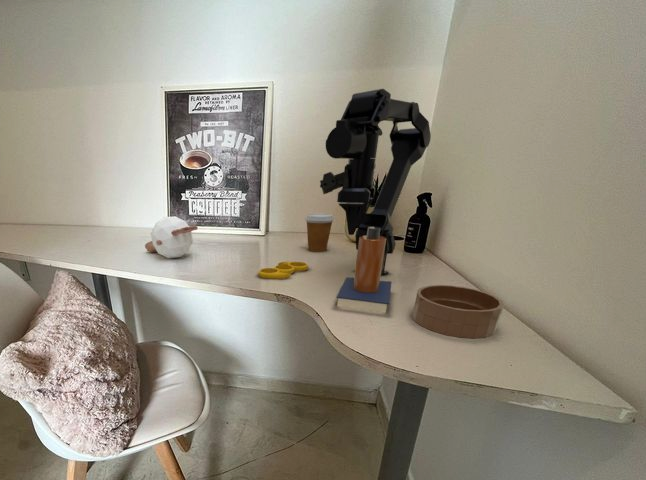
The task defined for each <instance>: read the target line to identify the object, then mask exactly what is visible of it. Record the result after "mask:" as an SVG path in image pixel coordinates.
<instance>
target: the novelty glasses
mask: <svg viewBox="0 0 646 480" xmlns="http://www.w3.org/2000/svg"><path fill="white" fill-rule="evenodd" d="M308 269H309V264H308V263H306V262H304V261H281V262H279V263H277V265H275V266H274V267H264V268H261V269H259V270H258V276H259V277H260V278H263V279H271V280H282V279H288V278H290V277H291V275H293V274H294V273H295V272H305V271H307V270H308Z"/></svg>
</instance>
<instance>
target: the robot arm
mask: <svg viewBox="0 0 646 480" xmlns="http://www.w3.org/2000/svg"><path fill="white" fill-rule="evenodd" d="M391 96H392V95H391V93H390V92H389V91H388V90H386V89H385V88H379V89H378V88H377V89H373V90H366V91H361V92H356V93H353V94H352V95H351V99H350V100H349V101H348V104H347V106H346V107H345V110H344V112H343V114H342V116H341V118H340V119H338V120H336V121H335V127H333V129H331V131H330V132H329V134H328V135H327V138H326V139H325V150H326V151H325V152H326V154H327V155H328V156H329V157H330V158H332V159H337V160H338V159H339V160H341V159H343V160H344V159H346V160H347V163H346V164H345V165H344V170H343V171H342V172H339V173H337V174H334V173H333V172H332V171H329V172H326V173H324V174H323V175H322V179H321V180H319V183H320V184H319V187H320V188H321V190H322V194H323V195H327V194H329V193H333V192H334V191H335V190H337V189H340V188H341V189H340V191H338V192H337V198H336V199H337V200H336V201H337V203H338V206H339V207H340V208H341V209H343V210H344V212H345V217H346V225H347V234H348V235H349V236H353V235H354V236H355V237H354V238H355V249H356V250H357V251H358V244H359V237H360V236H367V230H368V227H379V228H380V235H379V236H382V237H385V238H386V244H385V251H384V257H383V264H382V270H381V276H384V275H388V274H389V273H390V271H388V270H386V263H387V256H388V255H389V254H390V255H391V254H394V251H395V249H396V245H397V244H396V240H395V237H394V234H393V231H394V225H393V220H392V217H393V213H394V210H395V209H396V206H397V203H398V200H399V198H400V196H401V194H402V190H403V188H404V186H405V183H406V180H407V177H408V175H409V173H410V171H411V168H412V166H413V165H414V164H416V162H418V161H419V160H420V159H421V158H422V157H423V155H424V153H425V151H426V150H427V148H428V147H429V145H430V143H431V127H430V122H429V120H428V119H427V118H426V117H425V116H424V115H423V114H422V113H421V112H420V106H419V103H418V102H415V101H405V100H401V99H394V98H392V97H391ZM383 121H385V122H392V125H393V126H392V128H391V130H390V133H389V138H390V140H389V141H390V143H391V146H390V151H391V155H392V161H391V164H390V166H389V169H388V172H387V173H386V177H385V178H384V182H383V184H382V186H381V189H380V191H379V194H378V197H377V199H376V202H375V204H374V207H373V209H372V210H371V211H370V212H369V213H367V212H368V210H369V208H370V206H371V204H372V202H373V200H374V197H375V194H376V187H375V186H374V177H375V176H374V174H375V169H376V165H377V163H376V161H377V160H376V159H377V153H378V143H379V137H380V136H382V135H383V130H382V128H381V127H380V126H379V124H380V123H381V122H383ZM407 122H408V123H411V125H412V126H413V127H412V128H411V127H410V128H401V129H399V127H398V124H399V123H400V124H401V123H407Z"/></svg>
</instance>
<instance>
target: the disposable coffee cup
mask: <svg viewBox="0 0 646 480" xmlns="http://www.w3.org/2000/svg"><path fill="white" fill-rule="evenodd" d="M305 222H306V233H307V234H306V235H307V249H308V251H310V252H314V253H316V252H318V253H319V252H326V251H327V250H328V243H329V240H330V234H331V230H332V225H333V222H334V216H333V214H332V213H308V214H306V218H305Z"/></svg>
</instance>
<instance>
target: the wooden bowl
mask: <svg viewBox="0 0 646 480" xmlns="http://www.w3.org/2000/svg"><path fill="white" fill-rule="evenodd" d="M504 307H505V304H504V302H503V300H502V299H500V298H499V297H497V296H496V295H493V294H491V293H489V292H486V291H483V290H479V289H475V288H471V287H466V286H460V285H452V284H432V285H431V284H430V285H425V286H421V287H420V288H418V289H417V290H416V295H415V301H414V306H413V309H412V310H413V311H412V315H411V317H412V319H413V321H414V322H415V323H416V324H417V325H418V324H419V326H421V327H422V328H425V329H427V330H429V331H430V332H431V331H432V332H434V333H437V334H441V335H444V336H450V337H453V338H454V337H455V338H461V339H463V338H464V339H482V338H487V337H491V336H493V335H494V334H495V333H496V331H497V328H498V325H499V322H500V319H501V316H502V313H503V311H504V310H503V309H504Z"/></svg>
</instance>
